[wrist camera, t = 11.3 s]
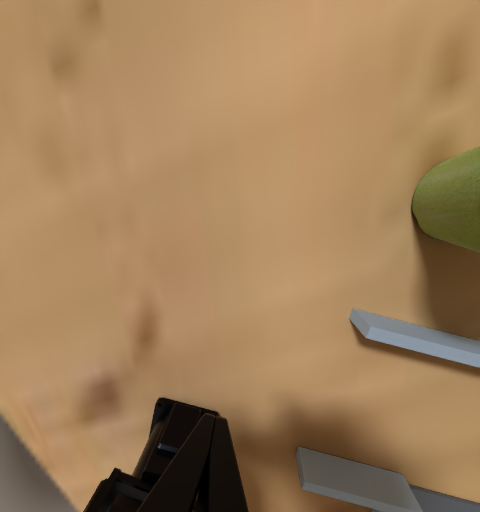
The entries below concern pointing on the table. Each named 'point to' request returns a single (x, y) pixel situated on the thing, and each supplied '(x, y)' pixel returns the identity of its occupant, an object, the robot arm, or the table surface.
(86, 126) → the table surface
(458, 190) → the plant pot
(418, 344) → the grey zigzag track
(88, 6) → the table surface
